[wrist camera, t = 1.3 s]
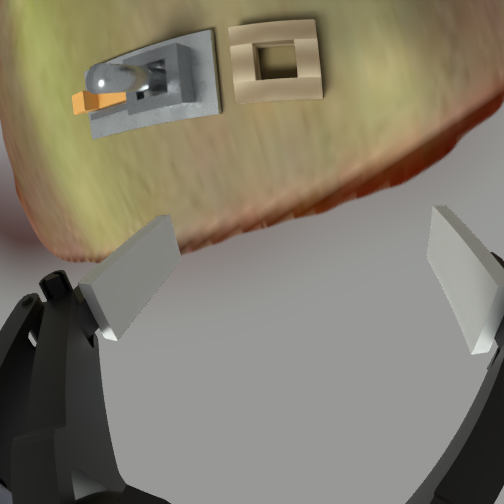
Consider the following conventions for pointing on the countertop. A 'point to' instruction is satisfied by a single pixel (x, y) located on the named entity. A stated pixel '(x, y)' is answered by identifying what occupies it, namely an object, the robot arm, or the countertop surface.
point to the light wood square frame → (275, 35)
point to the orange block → (95, 101)
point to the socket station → (178, 82)
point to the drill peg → (125, 79)
